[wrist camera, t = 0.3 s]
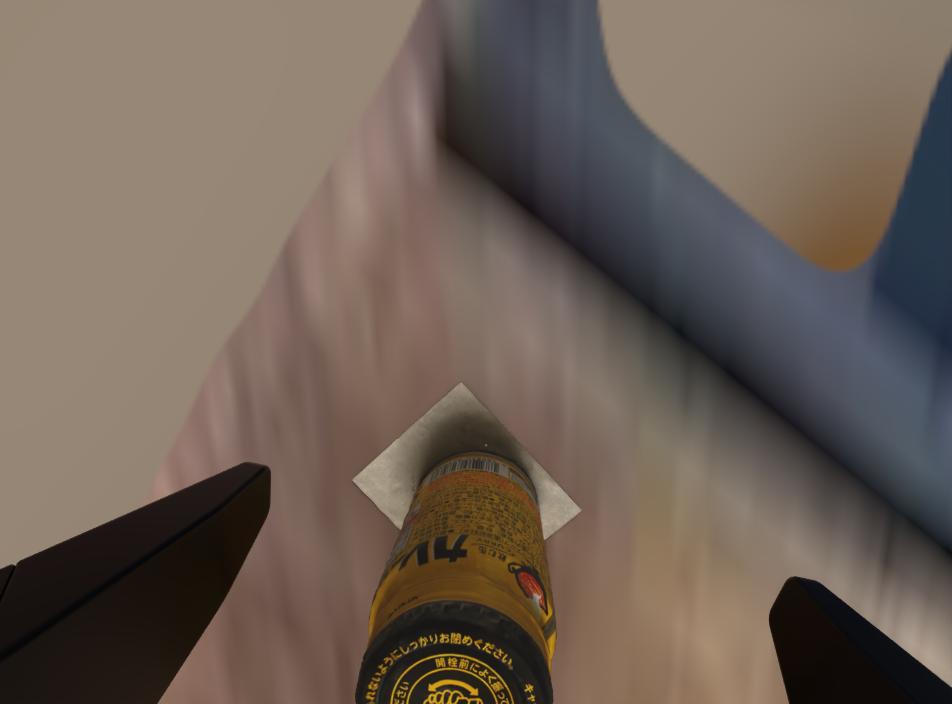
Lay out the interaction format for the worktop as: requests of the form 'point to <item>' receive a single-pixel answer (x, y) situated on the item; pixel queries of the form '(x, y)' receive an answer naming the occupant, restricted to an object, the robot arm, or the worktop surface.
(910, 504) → the worktop surface
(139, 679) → the robot arm
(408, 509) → the condiment
